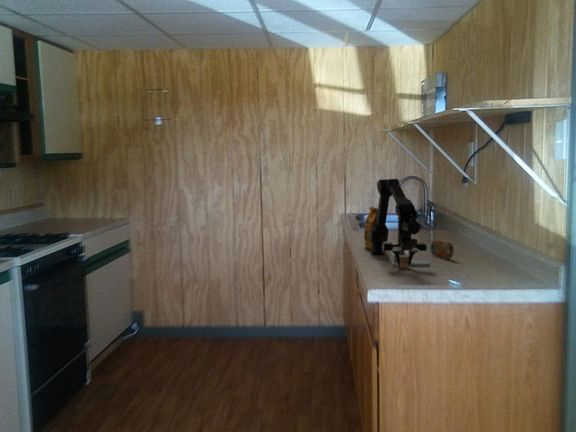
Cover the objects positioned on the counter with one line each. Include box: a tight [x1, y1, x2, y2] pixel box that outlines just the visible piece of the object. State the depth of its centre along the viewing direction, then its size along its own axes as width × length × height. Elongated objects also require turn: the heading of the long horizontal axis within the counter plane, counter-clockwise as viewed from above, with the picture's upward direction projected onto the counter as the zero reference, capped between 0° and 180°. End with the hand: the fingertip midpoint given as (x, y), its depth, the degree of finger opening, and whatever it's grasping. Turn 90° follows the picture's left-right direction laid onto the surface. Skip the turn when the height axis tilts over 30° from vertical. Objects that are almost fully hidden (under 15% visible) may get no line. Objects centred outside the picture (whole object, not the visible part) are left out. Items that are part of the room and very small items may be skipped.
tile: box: [410, 259, 431, 267], centre depth 255 cm, size 8×8×1 cm
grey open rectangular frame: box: [388, 249, 409, 266], centre depth 260 cm, size 13×8×5 cm, turn 178°
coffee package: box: [363, 206, 384, 251], centre depth 294 cm, size 10×12×22 cm
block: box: [397, 255, 409, 269], centre depth 249 cm, size 4×4×5 cm
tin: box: [430, 239, 454, 260], centre depth 270 cm, size 15×3×8 cm, turn 21°
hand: (403, 265), depth 248 cm, fingers closed on block, 4 cm apart
